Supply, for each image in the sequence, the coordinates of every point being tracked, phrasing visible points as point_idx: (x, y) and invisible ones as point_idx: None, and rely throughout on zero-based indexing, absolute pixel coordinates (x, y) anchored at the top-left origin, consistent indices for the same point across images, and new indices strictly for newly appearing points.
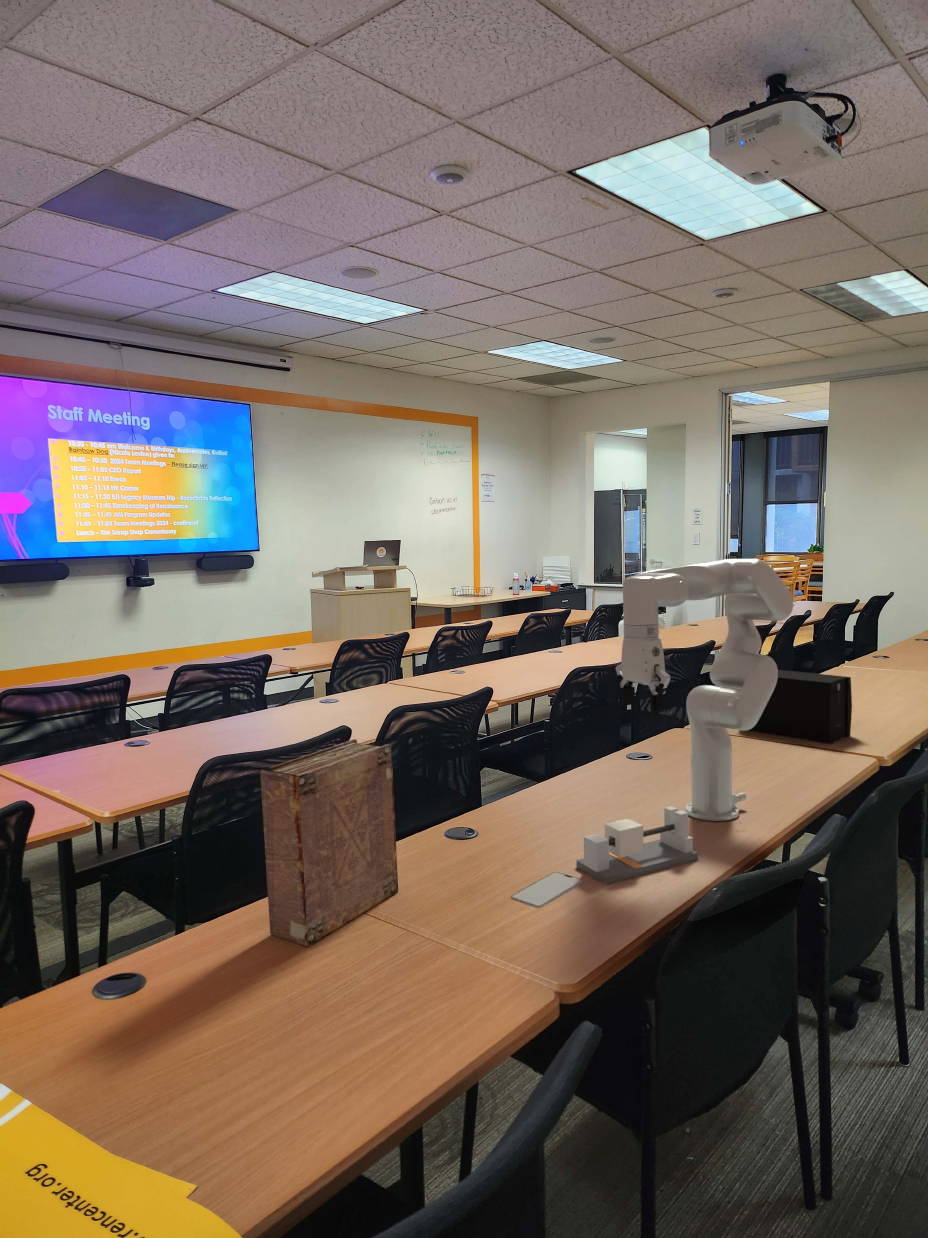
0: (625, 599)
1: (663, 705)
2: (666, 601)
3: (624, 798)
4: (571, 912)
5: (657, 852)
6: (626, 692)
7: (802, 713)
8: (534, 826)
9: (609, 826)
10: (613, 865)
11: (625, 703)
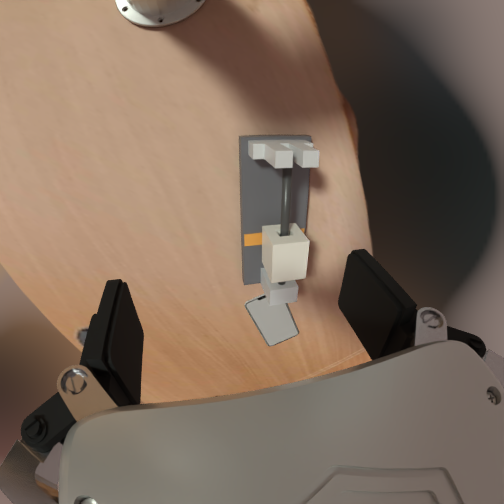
0: None
1: (377, 263)
2: None
3: (27, 89)
4: (320, 316)
5: (279, 185)
6: (135, 380)
7: None
8: (91, 269)
9: (282, 281)
10: None
11: (141, 336)
